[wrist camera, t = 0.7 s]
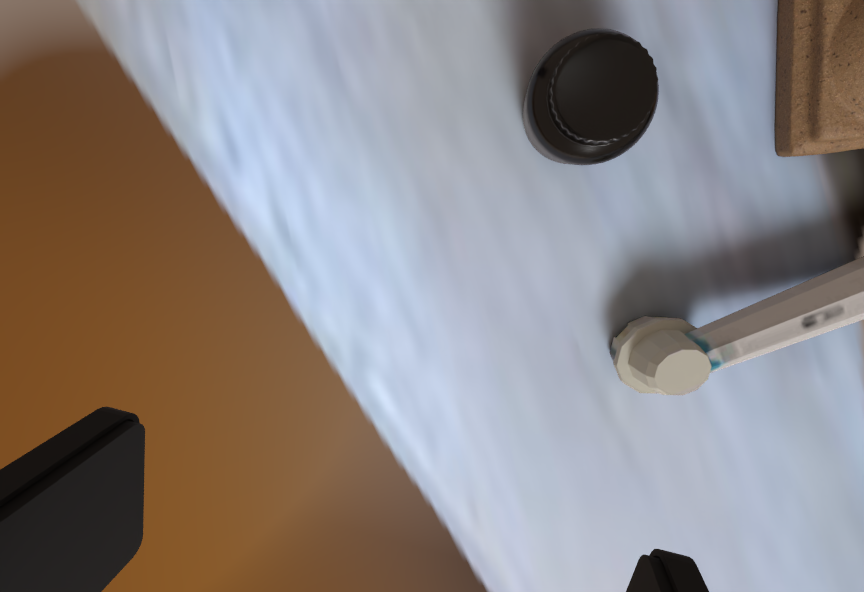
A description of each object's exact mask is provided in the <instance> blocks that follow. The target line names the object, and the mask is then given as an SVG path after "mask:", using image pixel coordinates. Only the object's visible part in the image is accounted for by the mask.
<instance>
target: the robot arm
mask: <svg viewBox="0 0 864 592" xmlns="http://www.w3.org/2000/svg"><path fill="white" fill-rule="evenodd" d="M144 449H145V428H144V426H143V425H142V424H140V423H139V418H138V417H137V415H135V414H133V413H129V412H126V411H122V410H118V409H114V408H110V407H102V408H100V409H97V410H96V411H94V412H92V413H91V414H89V415H88V416H86V417H84V418H83V419H81V420H80V421H78V422H76V423H75V424H73V425H71V426H70V427H68V428H67V429H65V430H63V431H62V432H60V433H59V434H57V435H55V436H54V437H52V438H50V439H49V440H47V441H46V442H44V443H42V444H41V445H39V446H38V447H36V448H34V449H33V450H32V451H30V452H28V453H26V454H25V455H23V456H22V457H20V458H19V459H17V460H15V461H14V462H12V463H10V464H9V465H7V466H5V467H4V468H2V469H1V470H0V592H101V591H102V590H103V589H104V588H105V587H106V586H107V585H108V584H109V583H110V582H111V580H112V579H113V578H114V577H115V576H116V575H117V574H118V573H119V572H120V571H121V570H122V569H123V568H124V566H125V565H126V564H127V563H128V562H129V561H130V560H131V559H132V558H133V556H134V555H135V554H136V552H137V551H138V549H139V547H140V545H141V541H142V537H143V506H144V505H143V504H144V454H145V453H144V452H145V451H144ZM626 592H709V591H708V589H707V586H706V584H705V582H704V580H703V578H702V576H701V574H700V572H699V570H698V567H697V565H696V564H695V562H694V561H693V559H691V558H690V557H687V556H684V555H680V554H676V553H672V552H668V551H664V550H660V549H654V550H653V551H652V552H651V554H650V556H648V555H642V556H641V557H640V559H639V561H638V563H637V566H636V568H635V571H634V573H633V576H632V578H631V581H630V583H629V586H628V588H627V591H626Z"/></svg>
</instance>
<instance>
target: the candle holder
mask: <svg viewBox="0 0 864 592" xmlns="http://www.w3.org/2000/svg"><path fill="white" fill-rule="evenodd" d="M862 148H864V0H779V1H778V21H777V61H776V102H775V149H776V153H777V155H778V156H782V157H790V156H805V155H816V154H826V153H833V152H840V151H847V150H854V149H862Z"/></svg>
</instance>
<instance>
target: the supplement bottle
mask: <svg viewBox="0 0 864 592" xmlns="http://www.w3.org/2000/svg"><path fill="white" fill-rule="evenodd" d="M658 94H659V85H658V77H657V72H656V67H655V66H654V64H653V58H652V57H651V56H649V54H648V51H647V49H645V48H643V47H642V46H641V44H640V42H637V41H636V40H634V39H633V38H631V37H630V36H628V35H626V34H624V33H621V32H619V31H615V30H611V29H601V28H597V29H588V30H583V31H580V32H577V33H574V34H572V35H570V36H568V37H566V38H564V39H562V40H561V41H559V42H558V43H557V44H555V45H554V46H553V47H552V48H551V49H550V50H549V51H548V52H547V53H546V54H545V55H544V56H543V58H542V59H541V60H540V62H539V63H538V65H537V66H536V68H535V70H534V72H533V74H532V76H531V79H530V82H529V85H528V89H527V93H526V97H525V101H524V106H523V124H524V128H525V132H526V135H527V137H528V139H529V141H530V142H531V144H532V145H533V147H534V148H535V149H536V150H537V151H538V152H539V153H540V154H542V155H543V156H544V157H546V158H548V159H550V160H552V161H555V162H558V163H563V164H574V165H592V164H598V163H603V162H606V161H609V160H611V159H614V158H616V157H618V156H620V155H621V154H623V153H624V152H626V151H627V150H629V149H630V148H631V147H632V146H633V145H634V144H635V143H637V141H638V140H639V139H640V138H641V137H642V136H643V134H644V133H645V132H646V130H647V128H648V127H649V125H650V123H651V121H652V119H653V116H654V114H655V110H656V107H657V102H658Z"/></svg>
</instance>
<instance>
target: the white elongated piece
mask: <svg viewBox="0 0 864 592" xmlns="http://www.w3.org/2000/svg"><path fill="white" fill-rule="evenodd" d="M863 319H864V256H863V257H861V258H859V259H856V260H854V261H852V262H850V263H847V264H845V265H843V266H840V267H838V268H836V269H833V270H831V271H829V272H827V273H824V274H822V275H820V276H817V277H815V278H813V279H810V280H808V281H806V282H804V283H801V284H799V285H797V286H794V287H792V288H790V289H787V290H785V291H783V292H780V293H778V294H776V295H774V296H771V297H769V298H767V299H764V300H762V301H760V302H757V303H755V304H753V305H751V306H748V307H746V308H744V309H741V310H739V311H737V312H734V313H732V314H730V315H728V316H725V317H723V318H721V319H718V320H716V321H714V322H711V323H709V324H707V325H704V326H702V327H700V328H698V329H697V328H696V327H694V326H693V325H691V324H689V323H688V322H686V321H684V320H682V319H681V318H667V317H647V316H643V317H641V318H639V319H636V320H634V321H631V322H629V323H627V325H628V326H627V327H626V328H625V329H624V330H623V331H622V332H621V333H620V334H619V335H618V336H617V337H614V339H613V342H612V346H611V350H610V355H611V357H612V360H613V363H614V366H615V368H616V371H617V373H618V376H619V378H620V380H621V381H622V382H623V383H624V384H626V385H628V386H629V387H631V388H633V389H634V390H636V391H638V392H639V393H660V394H662V395H685V394H687V393H690V392H692V391H695V390H697V389H698V388H699V387H700V386H701V385H702V384H703V383H704V382H705V381H706V380H707V379H708V377H709V373H712V372H715V371H717V370H720V369H723V368H726V367H729V366H732V365H735V364H737V363H740V362H743V361H746V360H749V359H752V358H755V357H757V356H760V355H763V354H766V353H769V352H772V351H775V350H777V349H780V348H783V347H786V346H789V345H792V344H795V343H797V342H800V341H803V340H806V339H809V338H812V337H815V336H817V335H820V334H823V333H826V332H829V331H832V330H835V329H837V328H840V327H843V326H846V325H849V324H852V323H855V322H857V321H860V320H863Z"/></svg>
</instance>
